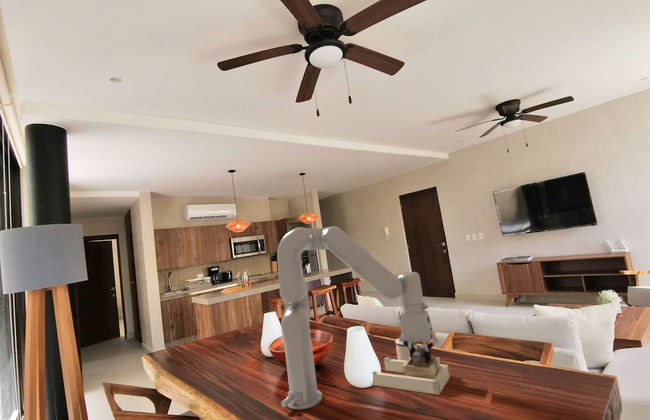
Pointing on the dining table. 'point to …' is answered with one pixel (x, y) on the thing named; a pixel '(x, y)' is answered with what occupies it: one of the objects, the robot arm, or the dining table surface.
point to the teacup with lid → (403, 350)
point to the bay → (410, 378)
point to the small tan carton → (421, 365)
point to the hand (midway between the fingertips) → (421, 360)
